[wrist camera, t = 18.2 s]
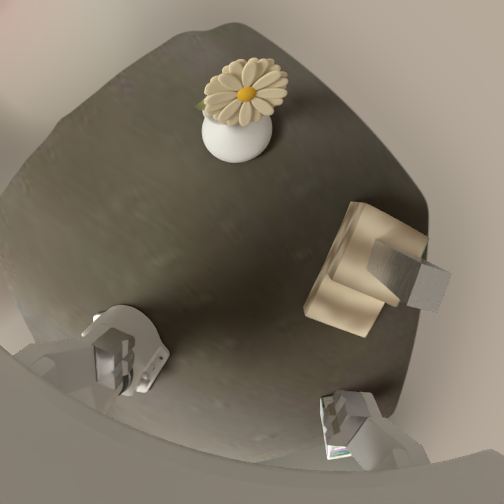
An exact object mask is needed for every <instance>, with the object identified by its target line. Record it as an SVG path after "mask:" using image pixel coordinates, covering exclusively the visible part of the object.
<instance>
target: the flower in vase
mask: <svg viewBox="0 0 504 504" xmlns="http://www.w3.org/2000/svg"><path fill="white" fill-rule="evenodd" d="M280 69H281V67H280V66H279V65H274V60H273V59H261V60H259V59H258V58H251V59H250V60H249V61H248V62H246V60H244V59H240V60H237V61H234V62H232V63H231V64H230V65H227V66H225V67H224V68H223V70H222V74H220V75H219V76H214V77H213V78H212V79H211V80H210V82H211V83H208V84H207V85H206V87H205V91H204V93H205V94H206V95H208V96H207V97H206V98H205V99H204V100H203V101H201V102H200V103H199V104H198V105H197V106H195V107H196V108H198V109H201V110H202V111H203V114H204V116H205V119H204V122H203V126H202V137H203V141H204V144H205V146H206V147H207V149H208V150H209V151H210V152H211V153H212V154H213V155H214V156H215V157H217V158H218V159H220V160H223V161H226V162H231V163H240V162H245V161H248V160H251V159H253V158H255V157H256V156H258V155H259V154H260V153H262V152H263V150H264V149H265V148H266V147H267V145H268V143H269V141H270V139H271V135H272V122H271V118H270V115H272V114H273V113H274V109H273V108H274V107H275V106H276V105H281V104H282V103H283V99H282V98H283V97H285V96H286V95H287V91H286V90H285V88H286V85H287V84H288V79H286V77H287V73H286V72H284V71H280Z"/></svg>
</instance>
